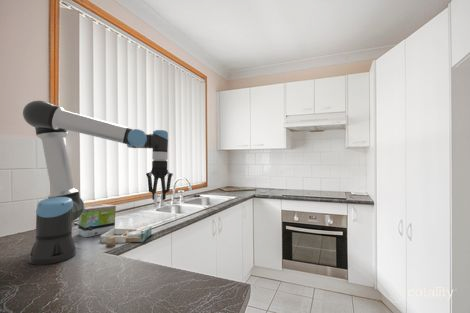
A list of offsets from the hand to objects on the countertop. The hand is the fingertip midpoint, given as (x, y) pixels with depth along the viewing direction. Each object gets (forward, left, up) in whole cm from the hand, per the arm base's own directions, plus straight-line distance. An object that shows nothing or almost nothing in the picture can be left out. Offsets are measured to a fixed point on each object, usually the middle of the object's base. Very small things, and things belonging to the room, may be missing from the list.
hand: (158, 206), depth 123 cm
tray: (0, +12, -17) cm, 20 cm away
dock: (0, +19, -17) cm, 25 cm away
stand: (-11, +19, -17) cm, 27 cm away
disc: (0, +12, -16) cm, 20 cm away
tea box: (+8, +36, -17) cm, 40 cm away
